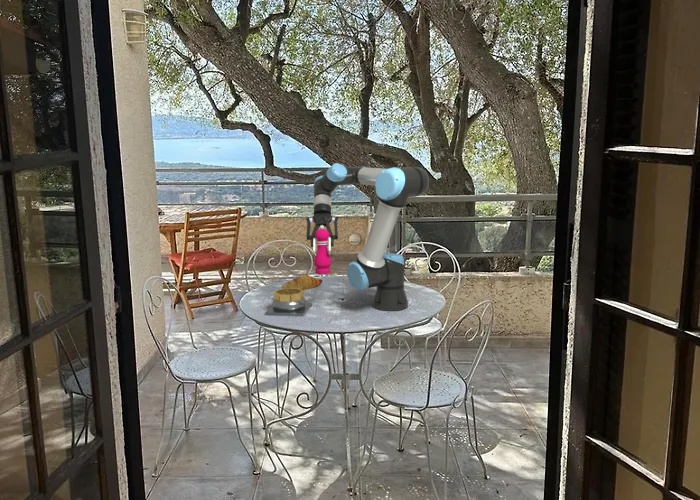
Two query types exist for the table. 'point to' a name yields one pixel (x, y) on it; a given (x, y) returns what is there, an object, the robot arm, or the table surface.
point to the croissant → (303, 282)
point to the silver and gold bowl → (289, 303)
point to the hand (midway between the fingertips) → (322, 252)
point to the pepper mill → (322, 252)
